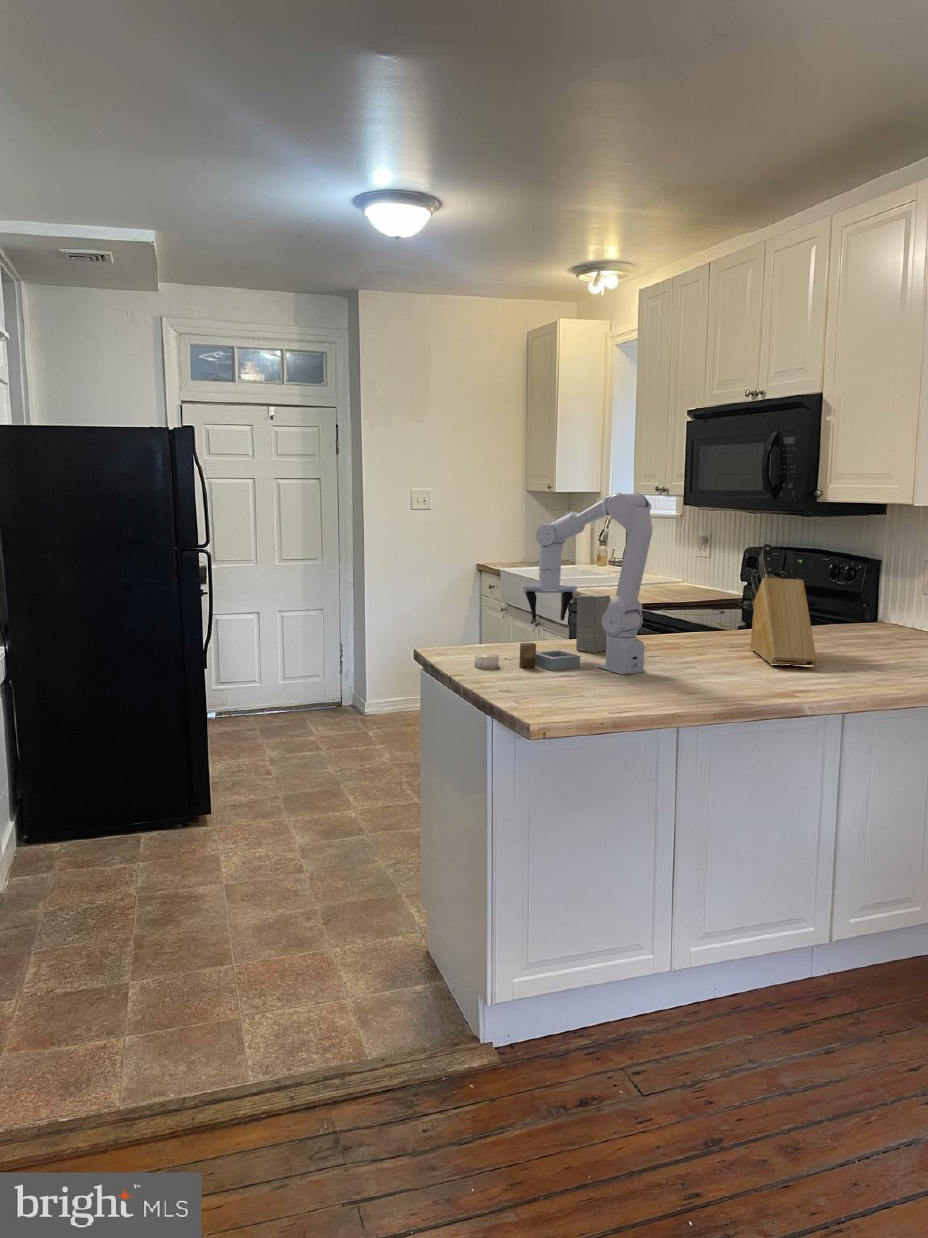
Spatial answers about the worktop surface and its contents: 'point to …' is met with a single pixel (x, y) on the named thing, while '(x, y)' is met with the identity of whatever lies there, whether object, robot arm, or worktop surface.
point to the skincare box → (591, 622)
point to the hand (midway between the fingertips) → (548, 619)
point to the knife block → (780, 614)
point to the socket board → (557, 660)
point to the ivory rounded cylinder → (486, 661)
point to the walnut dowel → (527, 655)
